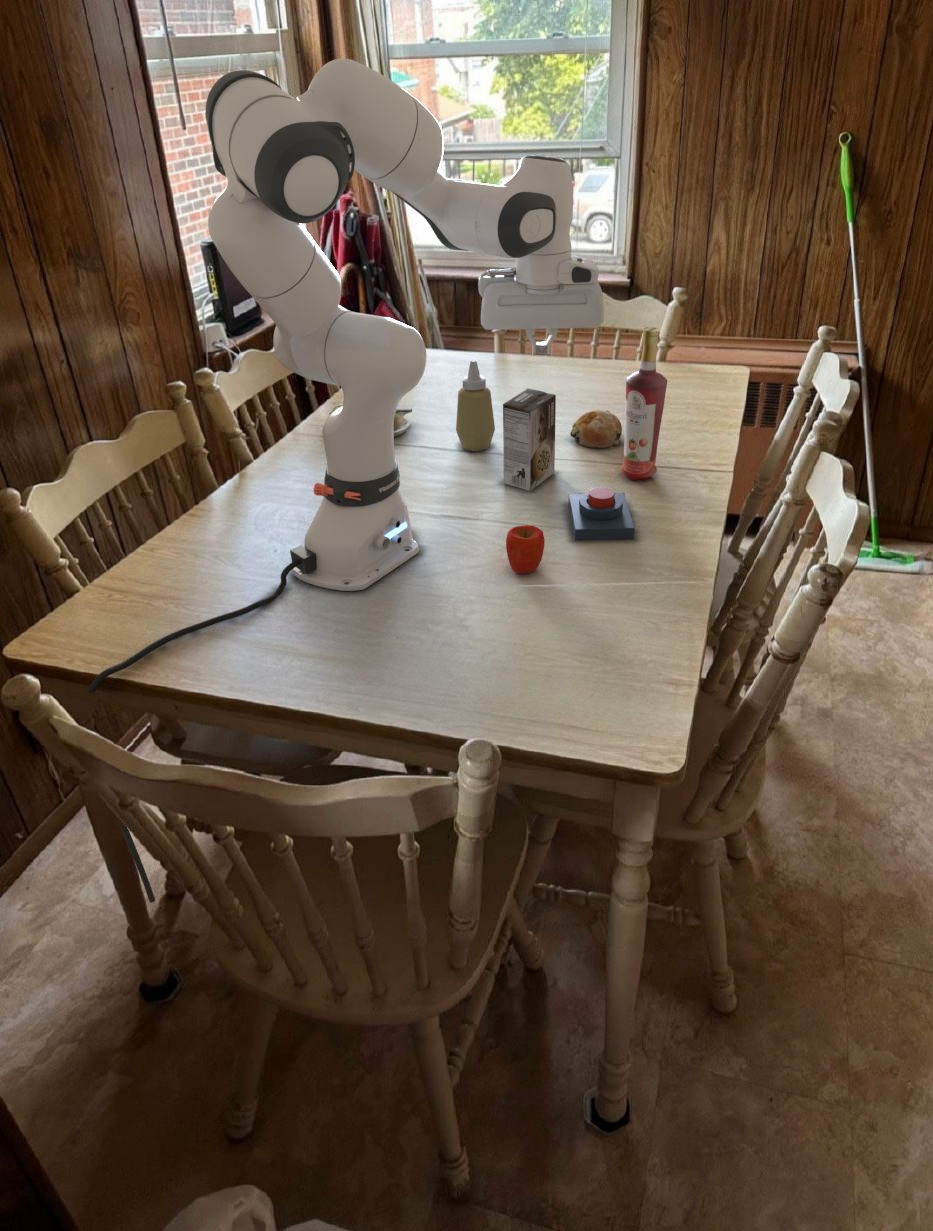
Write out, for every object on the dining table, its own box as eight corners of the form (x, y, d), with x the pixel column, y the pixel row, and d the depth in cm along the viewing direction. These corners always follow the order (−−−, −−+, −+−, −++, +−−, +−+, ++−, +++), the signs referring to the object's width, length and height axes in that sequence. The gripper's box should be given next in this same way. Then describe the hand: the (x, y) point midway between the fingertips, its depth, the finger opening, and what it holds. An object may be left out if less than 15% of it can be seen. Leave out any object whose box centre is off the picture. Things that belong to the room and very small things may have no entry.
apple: (528, 584, 139) (528, 544, 135) (497, 572, 142) (497, 531, 138) (551, 568, 143) (552, 527, 139) (521, 556, 146) (521, 516, 142)
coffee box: (527, 466, 174) (527, 387, 165) (555, 473, 171) (557, 393, 162) (502, 483, 168) (501, 403, 159) (530, 491, 165) (531, 410, 156)
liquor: (664, 474, 169) (680, 328, 153) (644, 487, 165) (657, 338, 149) (632, 464, 174) (644, 320, 157) (611, 476, 169) (621, 330, 153)
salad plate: (398, 405, 203) (397, 386, 200) (430, 432, 190) (429, 411, 187) (318, 422, 196) (315, 402, 193) (346, 451, 183) (343, 430, 180)
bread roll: (605, 467, 181) (623, 435, 176) (561, 442, 181) (579, 410, 176) (615, 447, 188) (633, 417, 183) (573, 423, 189) (591, 392, 184)
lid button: (615, 509, 151) (616, 498, 150) (589, 509, 151) (590, 499, 150) (612, 497, 155) (612, 486, 154) (587, 497, 155) (587, 487, 154)
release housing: (633, 539, 150) (635, 518, 147) (574, 540, 150) (575, 520, 148) (623, 503, 160) (624, 483, 158) (568, 504, 161) (569, 485, 158)
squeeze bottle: (496, 438, 186) (495, 353, 176) (493, 454, 179) (492, 367, 169) (458, 437, 187) (455, 353, 176) (454, 453, 180) (450, 367, 170)
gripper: (477, 274, 138) (479, 361, 146) (608, 271, 138) (602, 359, 145) (478, 265, 143) (479, 349, 151) (603, 262, 143) (598, 347, 151)
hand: (541, 354), depth 148 cm, fingers closed
